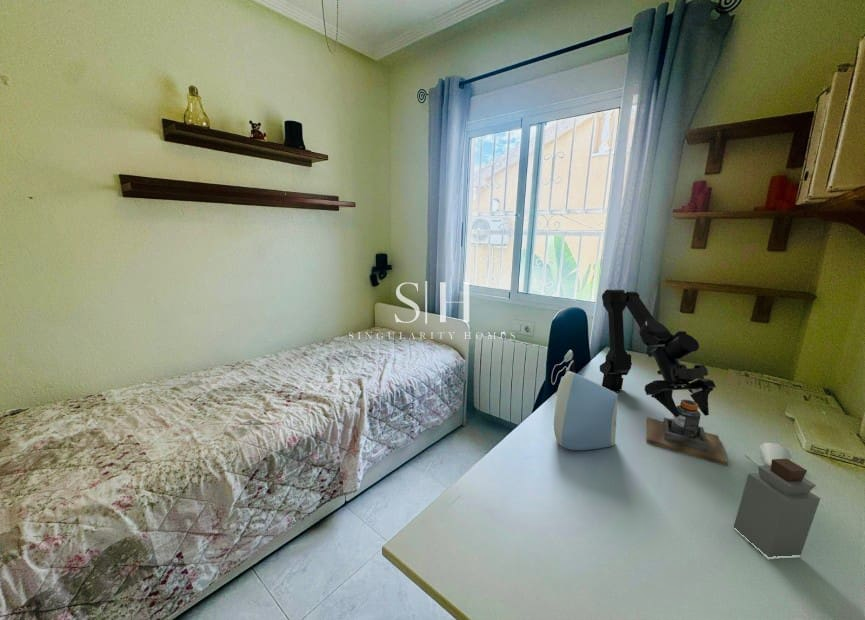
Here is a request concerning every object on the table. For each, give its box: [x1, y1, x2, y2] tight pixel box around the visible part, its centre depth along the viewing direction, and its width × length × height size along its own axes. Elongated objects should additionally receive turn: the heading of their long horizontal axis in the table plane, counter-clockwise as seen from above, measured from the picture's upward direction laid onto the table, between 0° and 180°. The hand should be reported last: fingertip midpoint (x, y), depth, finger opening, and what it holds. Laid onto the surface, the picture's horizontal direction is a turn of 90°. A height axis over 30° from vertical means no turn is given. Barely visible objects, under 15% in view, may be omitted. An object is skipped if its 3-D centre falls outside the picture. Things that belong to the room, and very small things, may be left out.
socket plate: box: [645, 416, 728, 467], centre depth 97 cm, size 18×14×4 cm
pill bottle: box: [671, 399, 701, 439], centre depth 96 cm, size 6×6×11 cm
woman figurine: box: [744, 441, 808, 479], centre depth 86 cm, size 12×4×18 cm
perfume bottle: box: [733, 459, 821, 557], centre depth 63 cm, size 7×7×18 cm
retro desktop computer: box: [550, 349, 619, 451], centre depth 96 cm, size 25×23×17 cm
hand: (692, 416), depth 94 cm, fingers open, 9 cm apart
